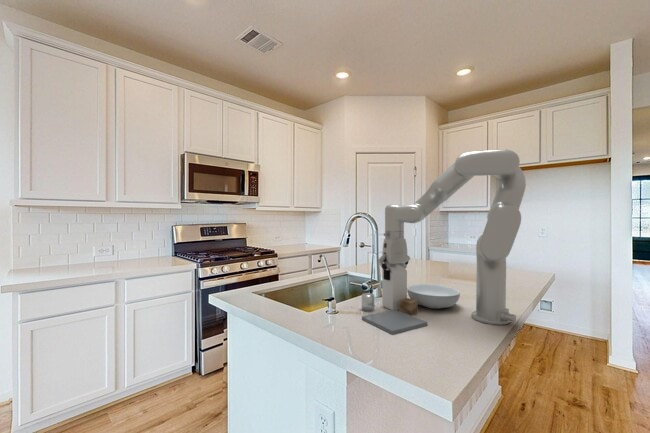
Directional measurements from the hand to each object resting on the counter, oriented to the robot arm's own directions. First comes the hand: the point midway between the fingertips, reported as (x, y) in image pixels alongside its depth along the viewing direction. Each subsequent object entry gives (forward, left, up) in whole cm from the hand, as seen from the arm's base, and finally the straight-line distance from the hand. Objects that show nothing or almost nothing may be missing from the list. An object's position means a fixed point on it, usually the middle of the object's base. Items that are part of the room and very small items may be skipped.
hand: (394, 278), depth 128 cm
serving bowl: (-6, -16, -12) cm, 21 cm away
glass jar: (+3, +11, -12) cm, 17 cm away
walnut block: (-8, 0, -12) cm, 14 cm away
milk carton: (0, 0, -12) cm, 12 cm away
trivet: (-13, +12, -12) cm, 21 cm away
